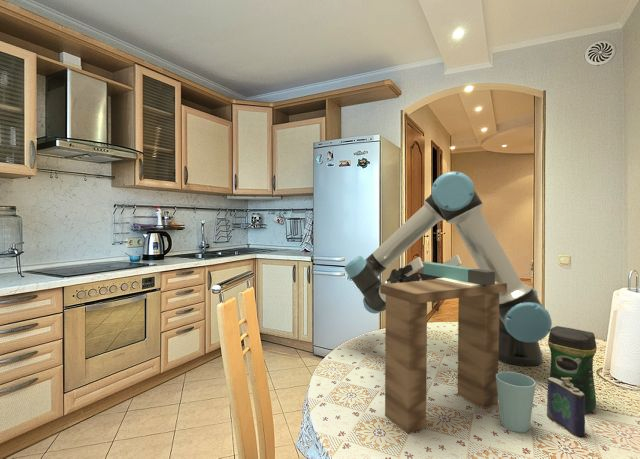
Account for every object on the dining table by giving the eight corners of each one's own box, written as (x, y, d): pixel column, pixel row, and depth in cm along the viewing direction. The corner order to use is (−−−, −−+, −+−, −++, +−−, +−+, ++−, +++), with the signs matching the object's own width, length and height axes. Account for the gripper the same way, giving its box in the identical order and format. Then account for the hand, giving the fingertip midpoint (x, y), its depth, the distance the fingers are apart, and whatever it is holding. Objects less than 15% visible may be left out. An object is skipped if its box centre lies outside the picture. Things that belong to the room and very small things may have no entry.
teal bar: (426, 272, 103) (426, 261, 103) (494, 284, 83) (495, 271, 83) (418, 272, 102) (418, 262, 102) (485, 285, 82) (486, 272, 82)
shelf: (465, 387, 98) (466, 275, 97) (505, 407, 87) (507, 282, 87) (379, 411, 86) (380, 283, 85) (414, 438, 75) (415, 292, 74)
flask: (544, 415, 84) (545, 369, 84) (555, 414, 85) (556, 368, 84) (577, 439, 75) (578, 387, 75) (590, 437, 75) (591, 386, 75)
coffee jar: (599, 406, 88) (600, 330, 88) (590, 417, 83) (592, 337, 82) (553, 392, 95) (555, 321, 95) (543, 401, 90) (544, 327, 90)
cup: (543, 430, 78) (543, 382, 78) (518, 439, 75) (519, 389, 74) (511, 413, 85) (512, 369, 85) (487, 421, 82) (488, 375, 81)
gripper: (431, 296, 117) (479, 270, 100) (365, 304, 106) (408, 276, 89) (423, 274, 120) (468, 246, 103) (359, 280, 109) (398, 249, 92)
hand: (440, 260), depth 96 cm, fingers open, 13 cm apart
